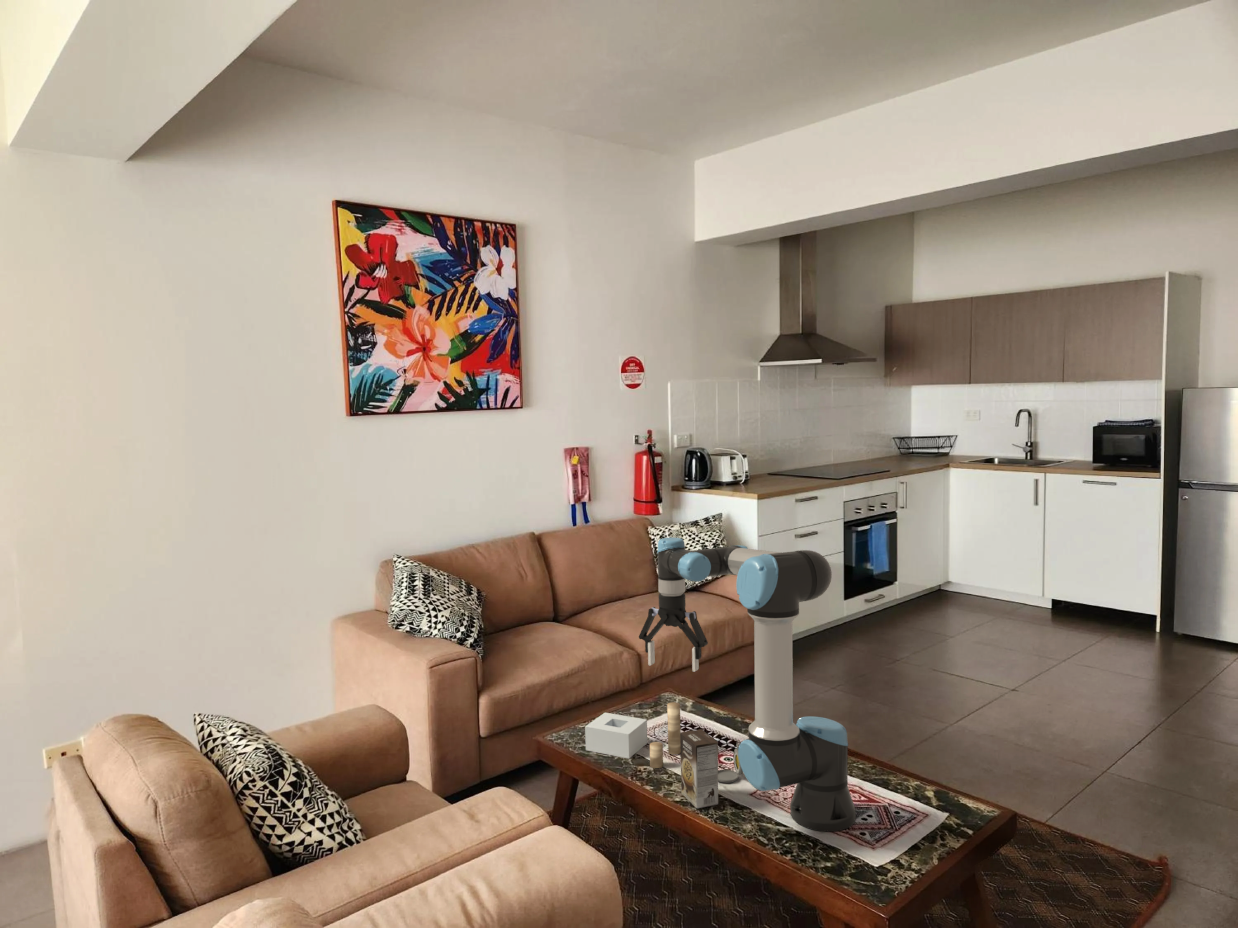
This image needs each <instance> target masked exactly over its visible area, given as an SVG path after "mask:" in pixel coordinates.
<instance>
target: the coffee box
mask: <svg viewBox="0 0 1238 928" xmlns="http://www.w3.org/2000/svg"><path fill="white" fill-rule="evenodd" d="M718 744H719V742H718V741H717V739H715V738H713V737H712V736H711V735H709V734H708V732H706V731H704V730H703V729H702V728H699V729H693V730H687V731H681V733H680V749H681V754H680V778H681V779H680V783H681V784H680V785H681V786H680V787H681V789H680V790H681V791H680V793H681V795H682V796H684V797H685V798H686V800H688V801H689V803H691V805H692V806H694V808H695V809H702V808H706V807H710V806H716V805H719V781H718V770H719V745H718Z"/></svg>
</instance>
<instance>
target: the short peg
mask: <svg viewBox="0 0 1238 928" xmlns="http://www.w3.org/2000/svg"><path fill="white" fill-rule="evenodd" d="M649 766H650V768H652V769H655V768H659V769H662V768H663V767H664V744H663V743H662V742H660V741H652V742H650V743H649Z"/></svg>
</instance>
